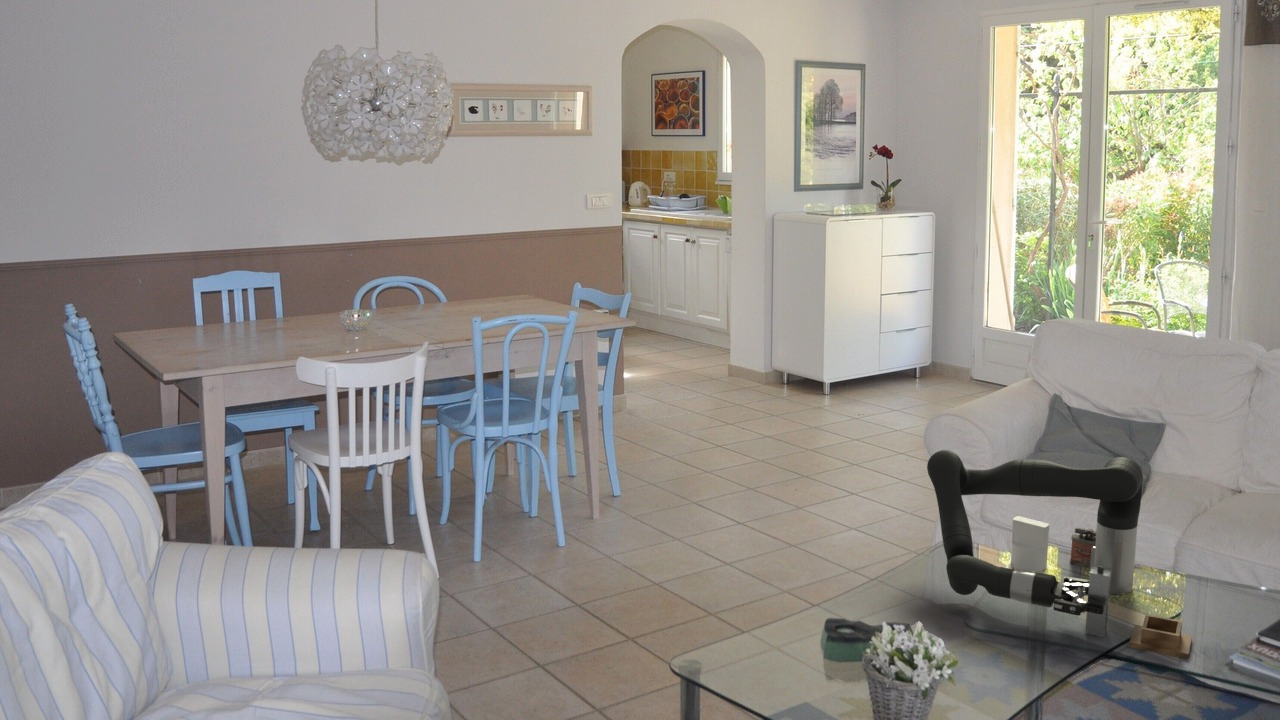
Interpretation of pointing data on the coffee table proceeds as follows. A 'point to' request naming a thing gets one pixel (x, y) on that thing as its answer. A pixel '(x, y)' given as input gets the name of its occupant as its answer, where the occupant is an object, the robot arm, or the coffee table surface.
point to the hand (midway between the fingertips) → (1106, 601)
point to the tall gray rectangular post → (1098, 599)
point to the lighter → (1082, 547)
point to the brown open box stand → (1161, 637)
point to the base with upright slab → (1029, 544)
